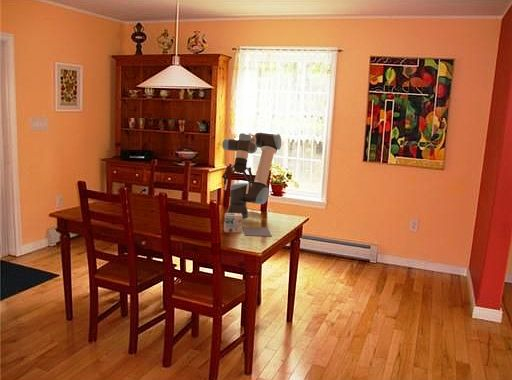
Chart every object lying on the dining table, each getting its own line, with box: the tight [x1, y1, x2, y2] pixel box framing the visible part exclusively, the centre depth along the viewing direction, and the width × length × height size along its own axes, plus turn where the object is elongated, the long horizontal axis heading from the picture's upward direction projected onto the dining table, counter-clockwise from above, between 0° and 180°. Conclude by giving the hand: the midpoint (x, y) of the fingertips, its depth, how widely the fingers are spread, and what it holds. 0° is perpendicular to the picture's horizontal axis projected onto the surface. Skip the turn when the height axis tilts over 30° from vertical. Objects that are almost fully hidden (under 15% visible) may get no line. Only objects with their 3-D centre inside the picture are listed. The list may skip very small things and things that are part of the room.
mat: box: [242, 226, 273, 238], centre depth 296 cm, size 20×16×1 cm
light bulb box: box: [223, 212, 243, 234], centre depth 293 cm, size 11×7×11 cm, turn 101°
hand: (236, 191), depth 295 cm, fingers open, 13 cm apart
